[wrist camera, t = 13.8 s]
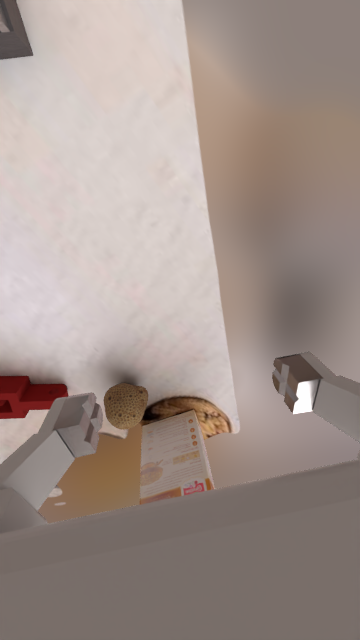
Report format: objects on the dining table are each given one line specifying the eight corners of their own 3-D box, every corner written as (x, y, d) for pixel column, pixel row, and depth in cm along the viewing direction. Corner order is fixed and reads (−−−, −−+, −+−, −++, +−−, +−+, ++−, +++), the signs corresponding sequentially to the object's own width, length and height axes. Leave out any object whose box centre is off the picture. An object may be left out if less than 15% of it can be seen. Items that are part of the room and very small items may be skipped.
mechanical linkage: (-4, 400, 48) (-19, 419, 44) (-14, 375, 45) (-31, 394, 40) (72, 398, 51) (65, 416, 46) (68, 374, 47) (60, 392, 43)
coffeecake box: (150, 439, 61) (150, 531, 44) (141, 425, 58) (137, 518, 41) (200, 424, 61) (220, 510, 43) (194, 408, 57) (212, 495, 40)
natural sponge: (99, 388, 50) (88, 427, 41) (124, 365, 47) (118, 401, 39) (130, 404, 53) (126, 443, 45) (154, 384, 51) (155, 421, 43)
